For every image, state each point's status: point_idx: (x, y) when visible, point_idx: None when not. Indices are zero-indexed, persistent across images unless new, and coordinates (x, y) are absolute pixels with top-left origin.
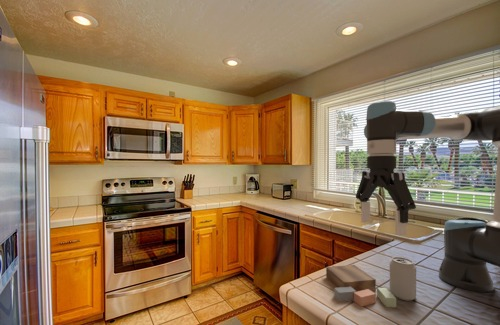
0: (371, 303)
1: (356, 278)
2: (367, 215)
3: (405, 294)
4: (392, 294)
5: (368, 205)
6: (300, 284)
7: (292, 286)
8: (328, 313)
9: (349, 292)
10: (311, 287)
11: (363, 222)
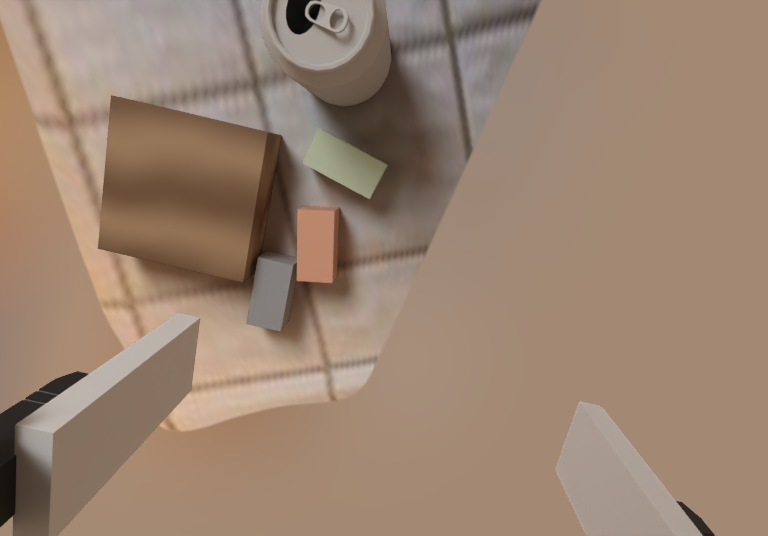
0: (338, 229)
1: (232, 206)
2: (163, 377)
3: (376, 89)
4: (363, 153)
5: (91, 429)
6: None
7: None
8: (326, 395)
9: (288, 292)
10: None
11: (191, 385)
